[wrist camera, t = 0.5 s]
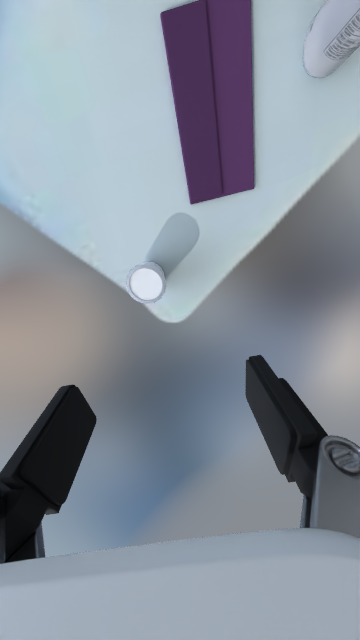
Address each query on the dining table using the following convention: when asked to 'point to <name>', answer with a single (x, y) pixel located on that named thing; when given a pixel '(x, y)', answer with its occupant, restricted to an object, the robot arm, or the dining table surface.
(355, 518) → the robot arm
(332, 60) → the energy drink can
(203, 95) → the napkin
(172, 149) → the dining table surface
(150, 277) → the shot glass
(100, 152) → the dining table surface
